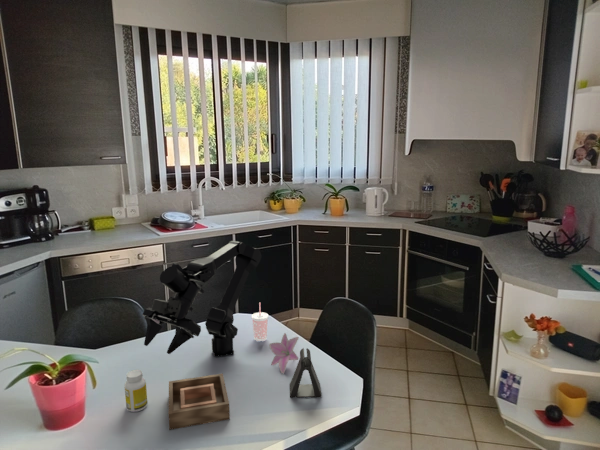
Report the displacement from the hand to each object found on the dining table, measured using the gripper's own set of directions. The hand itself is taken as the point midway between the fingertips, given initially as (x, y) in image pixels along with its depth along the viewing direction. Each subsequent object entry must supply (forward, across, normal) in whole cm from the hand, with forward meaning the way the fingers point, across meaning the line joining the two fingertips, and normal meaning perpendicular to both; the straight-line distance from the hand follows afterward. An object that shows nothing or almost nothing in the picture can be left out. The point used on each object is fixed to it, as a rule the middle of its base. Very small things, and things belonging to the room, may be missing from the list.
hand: (156, 349), depth 120 cm
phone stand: (-6, +36, +25) cm, 44 cm away
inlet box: (+9, +14, +10) cm, 20 cm away
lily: (-12, +23, +32) cm, 41 cm away
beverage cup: (-20, +5, +39) cm, 44 cm away
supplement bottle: (+15, 0, +4) cm, 16 cm away
